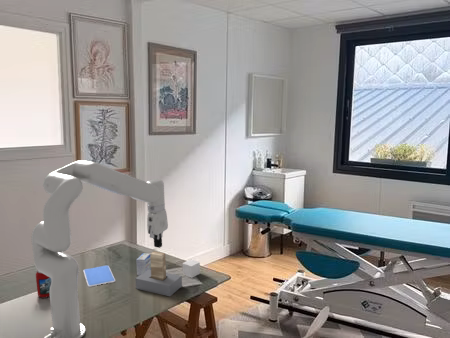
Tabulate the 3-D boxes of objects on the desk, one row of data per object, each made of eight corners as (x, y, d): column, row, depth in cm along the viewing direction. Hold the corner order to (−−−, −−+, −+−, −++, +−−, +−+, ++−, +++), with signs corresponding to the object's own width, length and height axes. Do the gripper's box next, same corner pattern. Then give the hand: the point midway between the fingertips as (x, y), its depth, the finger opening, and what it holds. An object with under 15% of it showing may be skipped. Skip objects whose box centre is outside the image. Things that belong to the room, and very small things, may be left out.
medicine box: (145, 276, 200) (144, 259, 198) (136, 275, 201) (136, 259, 199) (151, 269, 208) (150, 253, 206) (143, 268, 209) (142, 252, 207)
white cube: (199, 273, 203) (199, 262, 202) (191, 278, 199) (191, 266, 197) (191, 270, 207) (191, 259, 206) (182, 274, 202) (182, 263, 201)
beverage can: (44, 300, 178) (41, 274, 176) (34, 296, 182) (31, 270, 179) (57, 293, 184) (55, 268, 182) (48, 289, 187) (45, 265, 185)
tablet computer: (116, 283, 195) (115, 280, 195) (88, 288, 190) (88, 285, 189) (108, 267, 212) (108, 264, 212) (83, 271, 207) (82, 269, 207)
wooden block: (162, 280, 186) (161, 255, 184) (151, 278, 188) (150, 253, 186) (166, 277, 189) (165, 253, 186) (155, 275, 191) (154, 251, 189)
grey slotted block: (169, 296, 181) (169, 285, 180) (135, 288, 188) (135, 278, 187) (181, 285, 191) (181, 275, 190) (149, 278, 198) (148, 269, 197)
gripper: (153, 213, 174) (156, 254, 178) (172, 203, 187) (173, 242, 191) (139, 211, 177) (141, 251, 181) (158, 202, 190) (160, 239, 194)
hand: (158, 246), depth 186 cm, fingers closed
